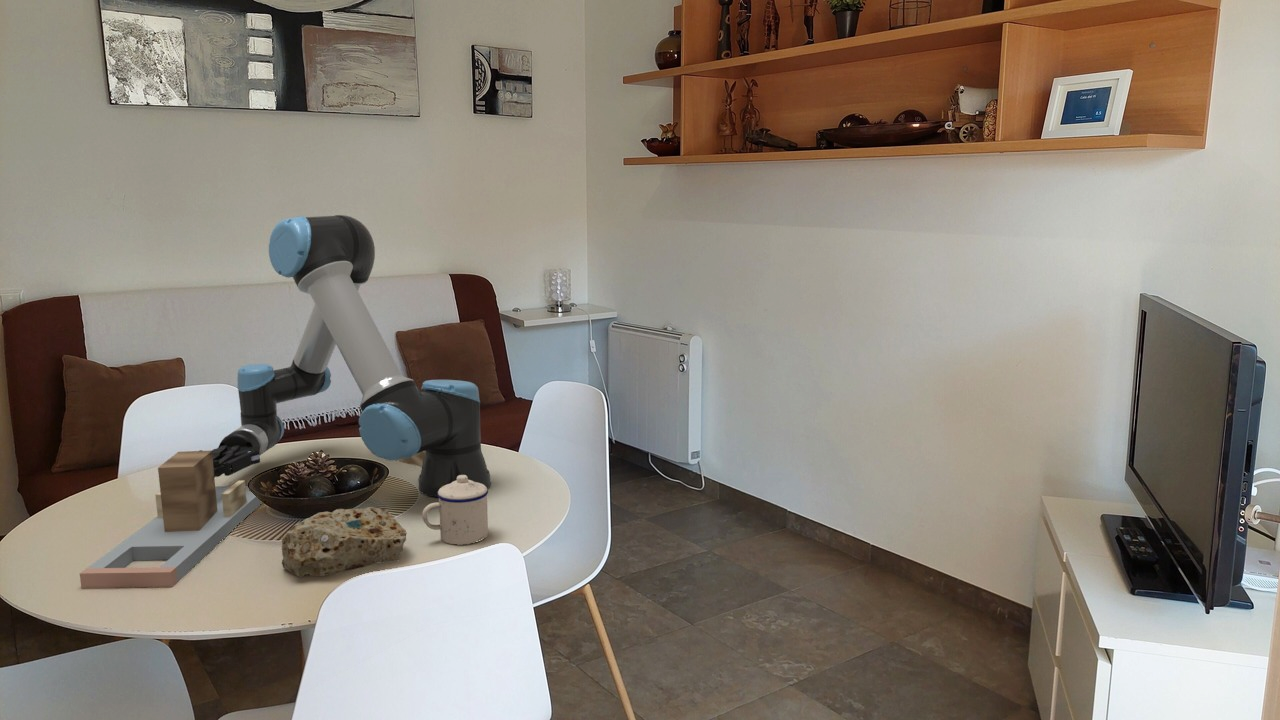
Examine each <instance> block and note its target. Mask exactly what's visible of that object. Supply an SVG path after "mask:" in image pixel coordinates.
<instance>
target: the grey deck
mask: <svg viewBox="0 0 1280 720" xmlns="http://www.w3.org/2000/svg"><path fill="white" fill-rule="evenodd" d="M231 486H232V485H226V486H225V485H224V486H219V485H218V486H216V485H215V489H216V500H217V510H218V511H217V512H216V513H215V514H214V515H213V517H212V518H211V519H210V520H209V521H208V522H207V523H206V524H205V525H204V526H203V527H202V528H201V530H197V531H175V532H165V530H164V521H163V518H158V515H156V517H154V518H153V519H151V521H148V522H147V523H146V524H145V525H143V526H141V527H140V529H138V530H136V531H135V532H134V533H133V534H131V535H130V536H128V537H127V538H125V540H123V541H122V542H121V543H119V544H118V545H116V546H115V547H113V548H112V549H110V551H108V552H107V553H105V554H104V555H103V556H101V557H100V558H98V559H97V560H95V562H92V564H91V565H89V566H88V567H87V568H85V569H84V570H82V571H81V572H79V578H80V579H79V580H80V581H79V582H80V587H81V589H98V588H99V589H103V588H104V589H105V588H107V589H111V588H114V589H115V588H117V589H118V588H119V589H121V588H164V587H165V588H166V587H167V588H168V587H169V588H172V587H174V586H175V585H176V584H178V582H179V581H180V580H181V579H183V577H185V575H186V574H188V572H190V571H191V570H192V569H193V568H194V567H195V566H196V565H198V564H199V562H200V561H202V560H203V559H204V558H205V557H206V556H207V555H209V553H211V551H212V550H214V549H215V548H216V547H217V546H218V545H219V544H220V543H221V542H222V541H223V540H225V538H226V536H227V535H228V534H229V533H230V532H231V531H232V530H233V529H234V528H235V527H236V526H237V525H238V524H239V523H240V522H241V521H243V520H244V519H245V518H246V517H247V516H248V515H249V514H250V513H251V512H253V511H254V510H255V509H256V508H257V507H258V508H260V506H261V505H262V504H263V503H262V502H261V501H260V500H259V499H258V498H257V497H256V496H255V495H254V494H253V493H252V492H250V491H249V488H248V486H249V485H245V487H246V499H247V503H245V504H244V505H243V506H242V507H241V508H240V509H239V510H238V511H236V512H235V513H234V514H233V515H232V516H231V517H224V513H223V503H222V493H224V492H225V491H226V490H227V489H229V488H230V487H231ZM260 504H261V505H260ZM258 508H257V509H258ZM257 509H256V510H257ZM256 510H255V511H256ZM255 511H254V512H255ZM254 512H253V513H254ZM251 514H252V513H251ZM251 514H250V515H251ZM250 515H249V516H250ZM249 516H248V517H249ZM248 517H247V518H248ZM247 518H246V519H247ZM246 519H245V520H246ZM245 520H244V521H245ZM244 521H243V522H244ZM238 526H239V525H238ZM238 526H237V527H238ZM237 527H236V528H237ZM236 528H235V529H236ZM235 529H234V530H235ZM234 530H233V531H234ZM233 531H232V532H233ZM232 532H231V533H232ZM231 533H230V534H231ZM230 534H229V535H230ZM229 535H228V536H229ZM228 536H227V537H228ZM224 537H225V538H224ZM222 539H223V540H222ZM221 540H222V541H221ZM220 541H221V542H220ZM219 542H220V543H219ZM218 543H219V544H218ZM217 544H218V545H217ZM216 545H217V546H216ZM215 546H216V547H215ZM214 547H215V548H214ZM213 548H214V549H213ZM133 561H165V562H164V563H163V564H162V565H161V566H159V567H157V566H156V567H127V565H129V564H130V563H133Z"/></svg>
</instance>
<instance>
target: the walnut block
mask: <svg viewBox="0 0 1280 720" xmlns="http://www.w3.org/2000/svg"><path fill="white" fill-rule="evenodd" d="M157 472H158V481H159V490H160V491H159V492H161V502H162V511H163V521H164V530H165V532H175V531H197V530H201V528H202V527H203V526H204V525H205V524H206V523H207V522H208V521H209V520H210V519H211V518H212V517H213V515H214V514H215V513H216V512H217V511H218V510H217V500H216V489H215V486H216V479H215V478H216V477H215V478H214V468H213V457H212V450H202V451H199V450H193V451H191V450H190V451H189V450H187V451H177V452H176V453H175V454H174V455H173V456H171V457H170V458H168V459H167V460H166V461H164V463H162V464H160V465H159V466H158V467H157Z"/></svg>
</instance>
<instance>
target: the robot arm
mask: <svg viewBox="0 0 1280 720" xmlns="http://www.w3.org/2000/svg"><path fill="white" fill-rule="evenodd" d="M375 249H376V247H375V243H374V239H373V237H372V234H371V232H370V231H369V229H368V228H367V226H365V225H364V224H363V223H362V222H361V221H360V220H358V219H357V218H354V217H352V216H348V215H346V214H345V215H343V214H336V215H321V216H320V215H319V216H305V217H304V216H303V215H301V216H300V215H299V216H296V217H289V218H288V217H287V218H284V219H282V220H280V221H279V222H278V223H277V224H276V225H275V226H274V228H273V229H272V231H271V234H270V237H269V243H268V256H269V261H270V263H271V266H272V268H273V269H274V271H275V272H276V273H277V274H278V275H279V276H280V275H281V276H282V277H285V278H288V279H289V278H292V279H293V281H294V283H295V285H296V286H297V288H298V290H299V291H300V292H302V293H303V294H304V293H305V294H308V295H310V297H311V299H312V300H313V302H314V305H313V307H312V311H311V312H310V316H309V317H308V318H309V319H308V321H307V324H306V326H305V328H304V331H303V334H302V337H301V339H300V340H299V341H300V342H299V344H298V347H297V349H296V352H295V354H294V357H293V359H292V362H291V365H290V366H288V367H285V368H279V369H274V367H273V366H272V365H271V364H266V363H253V364H247V365H244V366H241V367H240V368H239V369H237V370H238V371H237V379H236V381H237V382H236V383H237V385H236V386H237V387H236V388H237V391H238V399H239V407H240V425H241V426H240V427H238V428H236V429H235V430H234V431H232V432H231V433H230V434H228V435H226V436H224V438H222V440H221V441H220V443H219V445H218V447H216V448H213V449H212V450H211V451H212V457H213V468H214V478H218V477H221V476H223V475H224V476H227V477H228V476H231V475H234V474H235V473H238V472H240V471H242V470H244V469H246V468H248V467H250V466H252V465H256V464H260V463H261V455H262V454H264V453H266V452H267V451H268V450H270V449H272V448H273V447H275V446H276V445H277V444H278V443H279V441H280V440H281V439H282V437H283V436H284V432H285V425H284V422H283V420H282V419H281V418H280V417H279V416H278V413H277V412H278V411H277V408H278V407H277V404H280V403H284V402H288V401H293V400H297V399H301V398H306V397H311V396H315V395H317V394H320V393H323V392H326V391H327V390H328V389H329V388H330V386H331V383H332V380H331V377H332V373H331V370H330V368H329V367H328V365H329V362H330V360H331V358H332V355H333V353H334V350H335V348H336V346H337V348H338V350H339V352H340V354H341V356H342V358H343V360H344V361H345V363H346V366H347V367H348V369H349V372H350V373H351V375H352V377H353V378H354V382H355V383H356V384H357V387H358V389H359V390H360V393H361V394H362V398H361V401H360V403H359V408H360V410H361V414H359V418H358V425H359V426H360V427H359V428H358V430H359V435H360V438H361V441H362V442H363V444H364V445H365V447H366V448H367V449H368V450H369V452H371V453H372V455H374V456H376V457H377V458H380V459H383V460H386V461H391V462H392V461H396V460H398V459H402V458H409V457H412V456H413V455H415V454H417V453H420V452H423V451H425V457H424V461H423V465H422V466H421V469H420V474H419V476H418V481H417V482H418V490H419V492H420V493H421V494H423V495H426V496H429V497H434V498H438V496H437V494H438V491H439V489H440V488H441V487H443V486H445V485H447V484H450V483H452V482H453V481H456V480H457V476H459V475H466V476H467V477H468V480H471V481H474V482H477V483H481V484H483V485H485V486H486V488H487V490H488V489H489V488H490V486H491V484H492V483H491V473H490V470H489V469H488V467H487V463H486V461H485V460H486V459H485V456H484V454H483V452H482V443H481V441H482V438H481V437H482V435H481V405H480V404H481V400H480V393H479V387H478V386H477V384H475V383H473V382H471V381H465V380H458V379H457V380H456V379H455V380H454V379H430V380H429V379H428V380H425V381H423V382H422V384H421V385H422V386H421V391H420V389H419V388H418V386H417V384H416V382H415V380H414V379H412V378H409V377H405V376H403V374H402V372H401V370H400V369H399V366H398V365H397V362H396V360H395V359H394V356H393V355H392V353H391V351H390V348H389V347H388V346H387V343H386V342H385V340H384V338H383V336H382V334H381V332H380V331H379V329H378V327H377V325H376V323H375V321H374V319H373V317H372V315H371V314H370V311H369V309H368V308H367V306H366V304H365V302H364V300H363V298H362V297H361V294H360V292H359V290H360V287H361V286H362V285H364V284H366V283H367V282H368V281H369V278H370V276H371V274H372V271H373V268H374V263H375V257H376V250H375ZM198 451H203V450H198Z"/></svg>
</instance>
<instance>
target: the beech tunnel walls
mask: <svg viewBox="0 0 1280 720" xmlns="http://www.w3.org/2000/svg"><path fill="white" fill-rule="evenodd" d="M230 486H231V487H230V488H229V489H227V490H226V491H225V492H224V493H222V503H223V513H224V517H231V516H232V515H233V514H234V513H235V512H236V511H238V510H239V509H240V508H241V507H242V506H243V505H244V504H245V503H247V499H246V487H245V486H246V480H237V481H236V482H235V483H234V484H233V485H230ZM154 495H155V504H156V516H158V518H163V511H162V502H161V492H160V491H159V492H157V493H156V494H154Z"/></svg>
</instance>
